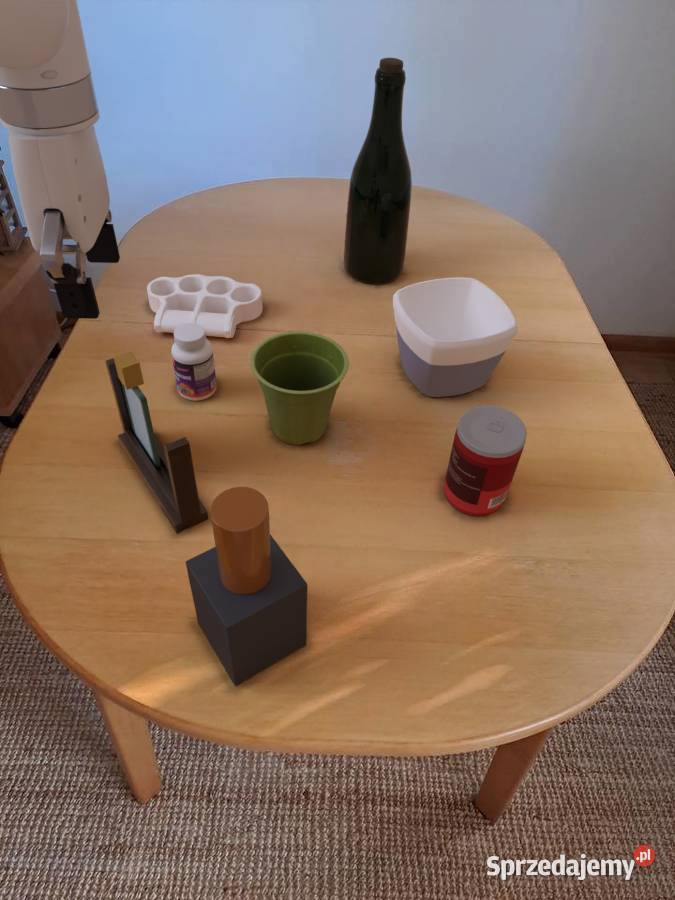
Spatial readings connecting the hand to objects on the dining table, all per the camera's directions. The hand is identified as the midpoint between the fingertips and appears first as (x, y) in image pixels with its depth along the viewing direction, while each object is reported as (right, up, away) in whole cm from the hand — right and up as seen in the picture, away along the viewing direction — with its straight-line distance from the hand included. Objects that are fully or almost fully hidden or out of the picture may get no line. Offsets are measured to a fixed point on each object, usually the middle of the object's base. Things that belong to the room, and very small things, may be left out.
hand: (93, 287), depth 65 cm
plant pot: (+19, -13, +24) cm, 33 cm away
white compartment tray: (+3, +6, +41) cm, 41 cm away
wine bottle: (+30, +16, +52) cm, 62 cm away
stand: (+15, -34, +2) cm, 38 cm away
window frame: (+2, -19, +16) cm, 25 cm away
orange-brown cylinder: (+16, -27, -6) cm, 31 cm away
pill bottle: (+4, -7, +28) cm, 29 cm away
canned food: (+40, -21, +17) cm, 49 cm away
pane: (0, -16, +17) cm, 23 cm away
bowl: (+39, -5, +33) cm, 51 cm away
